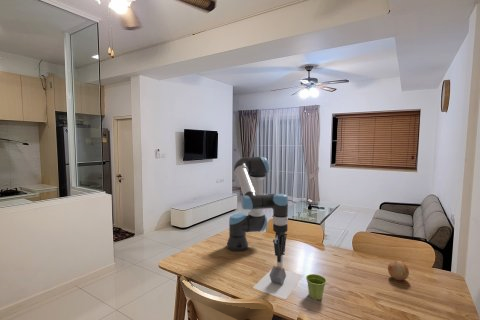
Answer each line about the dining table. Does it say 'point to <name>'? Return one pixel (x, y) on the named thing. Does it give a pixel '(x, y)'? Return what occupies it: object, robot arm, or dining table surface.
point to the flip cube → (277, 275)
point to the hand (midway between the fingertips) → (279, 266)
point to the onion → (398, 270)
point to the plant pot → (315, 285)
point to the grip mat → (277, 289)
